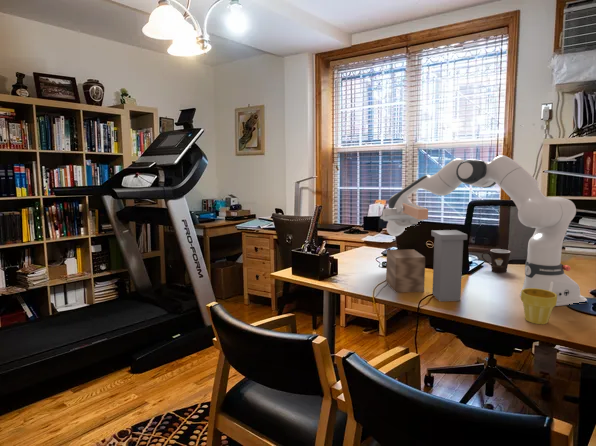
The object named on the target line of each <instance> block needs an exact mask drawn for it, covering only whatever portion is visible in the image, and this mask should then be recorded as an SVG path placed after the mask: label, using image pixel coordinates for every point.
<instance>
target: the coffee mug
mask: <svg viewBox="0 0 596 446" xmlns="http://www.w3.org/2000/svg"><path fill="white" fill-rule="evenodd" d="M485 254H487V255H488V256H489V258H490V262H489V261H488V260H487V259H485V258H484V255H485ZM510 256H511V251H510V250H507V249H503V248H502V249H501V248H492V249H490V252H487V251H485V252H482V253H481V258H482V260H483V261H485V263H487V264H489V265H490V267H491V272H493V273H497V274H505V273H507V272H508V265H509V261H510Z"/></svg>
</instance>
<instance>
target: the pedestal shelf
mask: <svg viewBox="0 0 596 446" xmlns="http://www.w3.org/2000/svg"><path fill="white" fill-rule="evenodd" d="M430 232H431V235H430V236H431V237H434V243H433V269H432V291H431V292H432V293H431V294H433V295H434V296H435V297H434V296H433V295H432V296H433V297H434V298H435V299H437V300H438V302H460V301H461V295H462V278H463V277H462V276H463V274H462V273H463V254H464V252H463V251H464V241H468V234H467V233H464V232H462V231H460V230H458V229H451V230H450V229H443V230H441V229H439V230H433V229H432V230H431V231H430Z"/></svg>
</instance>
